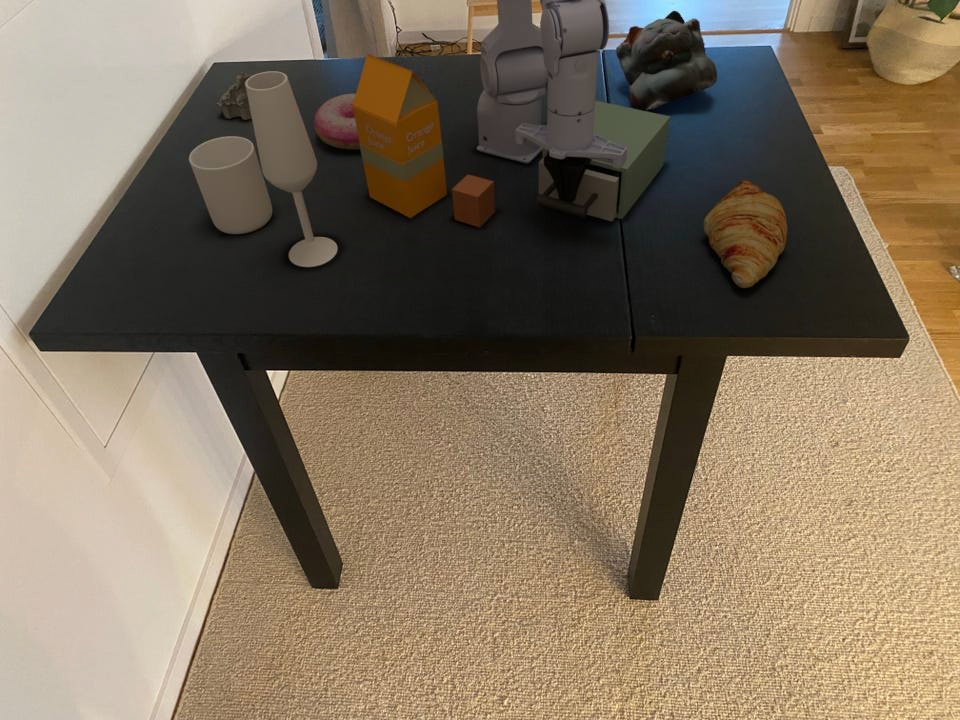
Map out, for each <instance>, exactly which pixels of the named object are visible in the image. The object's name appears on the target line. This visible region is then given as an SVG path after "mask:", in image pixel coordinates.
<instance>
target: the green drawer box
mask: <svg viewBox="0 0 960 720" xmlns="http://www.w3.org/2000/svg"><path fill="white" fill-rule="evenodd" d="M670 122H671V116H669V115H665V114H661V113H655V112H651V111H648V110H647V111H642V110H640V109H638V108H632V107H628V106H622V105H619V104H614V103H608V102H603V101H600V100H596V101H595V117H594V134H597V135H599V136H601V137H603V138H605V139H607V140H609V141H611V142H613V143H615V144H617V145H620V146H623V147H627V158H626V162H625V163H624V165H623V166H622V167H621V168H620V169H618V168H614V167H612V164H610V163H606V162H602V161H598V160H594V159H592V160H591V162H590V164H591V165H595V166H599V167H603V168H607V169H611V170H615V171H619V172H622V179H621V189H620V200H619V205H618V207H617V208H616V216H615V218H616V219H619V220H623V219H624V218H625V217H626V216H627V214H628V213H629V211H630V210H631V209H632V208H633V206H634V205H635V203H637V201H638V199H639V198H640V197H641V196H642V194H643V193H644V192H645V191H646V189H647V188H648V187H649V185H650V184H651V183H652V181H653V180H654V178H655V177H656V176H657V175H658V173H660V171H661V169H662V168H663V167H664V165H665V159H666V158H665V157H666V151H667V143H668V136H669V128H670ZM547 152H548V150H546V149H544V148H543V150H542V159H543V158H544V157H545V156H546V155H547Z"/></svg>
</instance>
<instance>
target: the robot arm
mask: <svg viewBox="0 0 960 720" xmlns="http://www.w3.org/2000/svg"><path fill="white" fill-rule="evenodd" d="M539 2H540V6H541V7H540V8H541V11H542V12H541V16H540V21H539V26H538V25H536V24H534V23H533V4H532V0H496V6H497V7H496V8H497V20H498V21H497V22H498V23H497V25H496V26H495V27H494V28H493V29H492V30H491V31H490V32H489V33H488V34H487V35H486V36H485V37H484V38H483V39H482V40H481V44H480V63H479V68H480V70H479V71H480V77H481V83H482V87H483V91H482V92H481V93H480V96H479V99H478V102H477V108H476V115H477V116H476V118H477V119H476V120H477V133H478V135H477V136H478V145H477V147H476V151H478V152H480V153H484V154H488V155H492V156H496V157H500V158H505V159H507V160H511V161H515V162H519V163H522V164H528V165H529V164H530V163H532V161H533V160H534V159H535V158H537V157H538V155H539V154H540V153H542V152H543V148H544V149H546V150H548V152H547V155H546V156H545V157H544V159H543V158H542V159H543V162H544V166H545V167H546V169H547V170H548V171H549V173H550V175H551V177H552V179H553V181H554V183H555V186H556V189H557V192H558V196H559V199H560V200H564V201H567V202H571V203H573V202H574V200H575V199H576V195H577V191H578V188H579V185H580V182H581V179H582V177H583V175H584V173H585V171H586V169H587V167H588V165H589V164H590V162H591V160H592V159H594V160H598V161H602V162H606V163H610V164H612V167H614V168H618V169H620V168H621V167H622V166H623V165H624V163H625V162H626V158H627V147H623V146H620V145H617V144H615V143H613V142H611V141H609V140H607V139H605V138H603V137H601V136H599V135H597V134H594V117H595V101H597V100H596V99H597V97H596V96H597V82H598V81H597V80H598V65H599V63H598V62H599V52H598V51H602V50H605V48H606V47H607V44H608V41H609V37H610V19H609V12H608V8H607V3H606V1H605V0H539ZM546 89H547V103H546V104H547V106H546V107H547V112H546V113H547V114H546V115H547V116H546V117H547V118H546V125H545V124H544V125H543V124H542V97H543V96H546Z"/></svg>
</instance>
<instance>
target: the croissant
mask: <svg viewBox="0 0 960 720" xmlns="http://www.w3.org/2000/svg"><path fill="white" fill-rule="evenodd" d="M702 223H703V232H704V233H705V235H706V236H707V238H708V243H709V246H710V248H711V249H712V250H714V252H715V253H716V254H717V256H718V258H720V260H721V261H720V263H721V264H722V266H723V267H724V268H725V269H727V270H728V272H729V273H730V275H731V279H732V281H733V282H734V284H735V285H736V286H738V287H739V288H741V289H747V288H751V287H753V286H754V285H755V284H757V283H758V282H759V281H760V280H762V279H763V278H765V277H766V276H767V275H768V274H769V272H770V271H771V270H772V269H774V267H775V266H776V264H777V262H778V258H779V256H780V255H781V254H783V252H784V250H785V248H786V243H787V235H788V223H787V217H786V213H785V210H784V207H783V205H782V203H781V202H780V200H779V199H777V198H776V196H774V195H772V194H769V193H768V192H766V191H764V190H762V189H761V188H760V187H759V186H757V185H756V184H754V183H753V182H752V180H747V179H746V180H745V179H742V180H740V181H738V182H737V183H736V186H735V187H734V188H732V190H730V191H729V192H728V193H726V195H724V196H723V197H722V198H721V199H720V200H719V201H718V202H717V203H715V205H714V207H713V208H712V209H711V210H710V211H709V212H708V213H707V214H706V216H704V219H703V221H702Z"/></svg>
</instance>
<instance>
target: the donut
mask: <svg viewBox="0 0 960 720" xmlns="http://www.w3.org/2000/svg"><path fill="white" fill-rule="evenodd" d="M355 96H356V92H355V93H346V94H345V93H344V94H340V95H337V96H334V97H333V98H332V97H331V98H330V99H328V100H327V101H325V102H324V103H323V104H322V105H321V106H320V107H319V108H318V109H317V110H316V113H315V115H314V119H313V126H314V130H315V134H316V135H317V136H318V137H319V139H320V140H321V141H322V142H323V143H325V144H326V145H328V146H331V147H333V148H337V149H339V150H346V151H347V150H348V151H355V150H356V151H358V150H360V142H359V137H358V132H357V127H356V121H355V116H354V111H353V107H352V104H353V103H354V99H355Z"/></svg>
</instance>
